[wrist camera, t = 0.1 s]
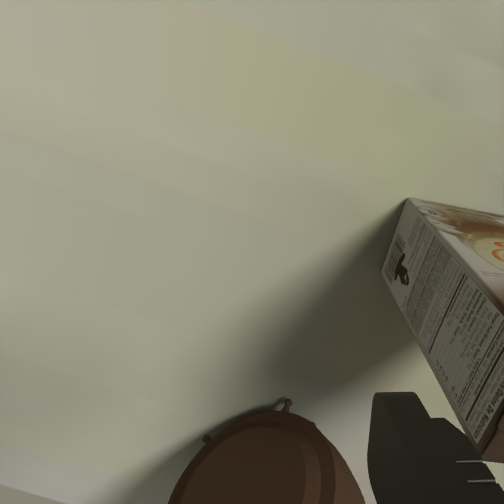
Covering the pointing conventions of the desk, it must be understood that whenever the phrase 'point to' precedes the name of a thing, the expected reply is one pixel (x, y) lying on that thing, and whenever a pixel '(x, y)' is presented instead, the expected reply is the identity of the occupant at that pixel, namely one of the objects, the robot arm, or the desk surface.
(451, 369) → the coffee box
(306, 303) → the desk surface
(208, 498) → the alarm clock
